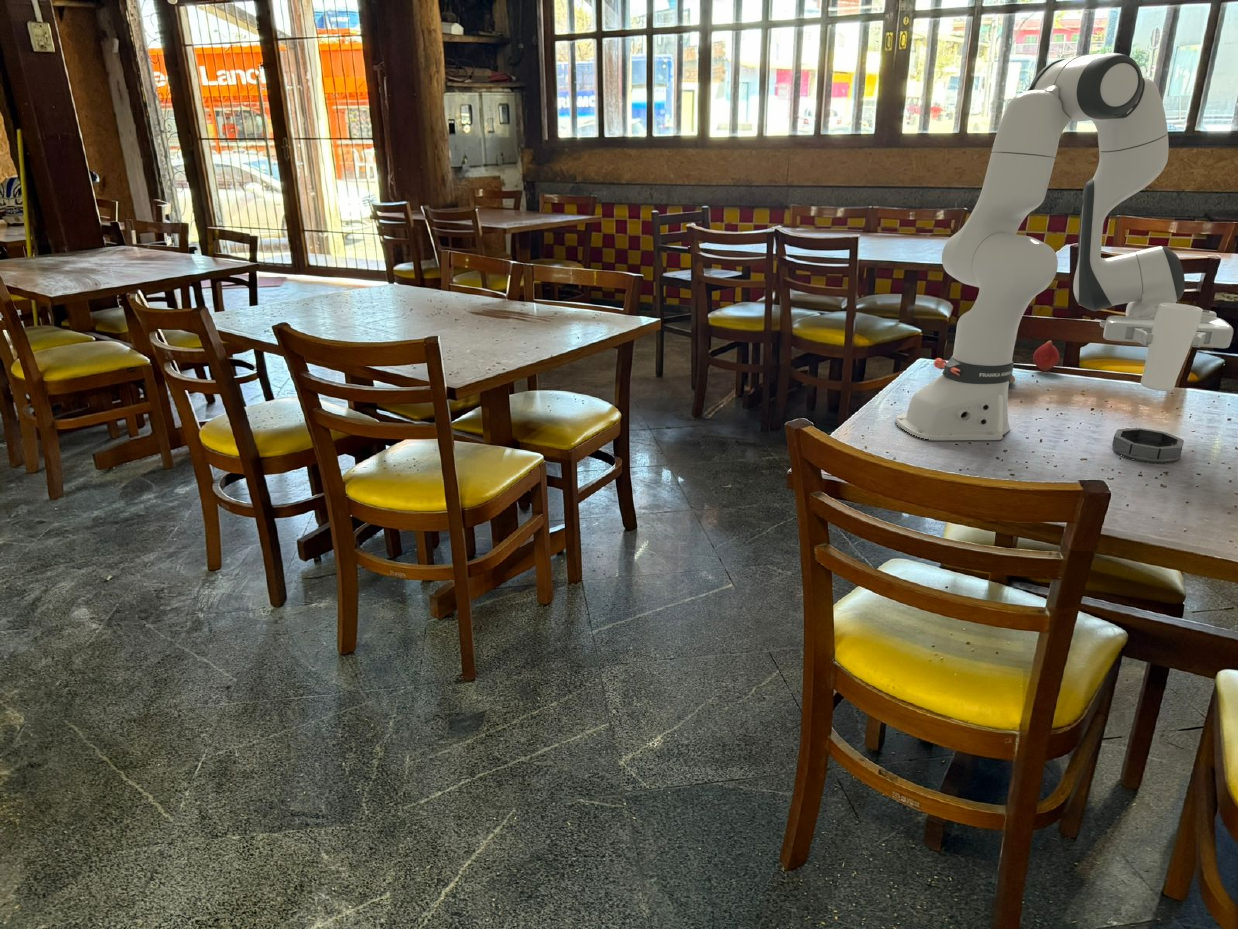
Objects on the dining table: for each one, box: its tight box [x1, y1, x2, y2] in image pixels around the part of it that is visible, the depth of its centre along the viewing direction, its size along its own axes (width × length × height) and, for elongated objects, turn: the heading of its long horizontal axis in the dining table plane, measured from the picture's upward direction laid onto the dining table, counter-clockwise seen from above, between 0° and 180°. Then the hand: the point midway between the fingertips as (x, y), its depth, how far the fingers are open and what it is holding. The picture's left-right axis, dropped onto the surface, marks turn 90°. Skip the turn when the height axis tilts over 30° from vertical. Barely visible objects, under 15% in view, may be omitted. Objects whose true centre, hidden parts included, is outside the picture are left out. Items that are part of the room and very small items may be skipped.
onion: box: [1032, 340, 1060, 372], centre depth 210 cm, size 6×6×8 cm
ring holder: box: [1111, 427, 1185, 465], centre depth 158 cm, size 11×11×3 cm
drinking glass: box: [1140, 302, 1204, 392], centre depth 151 cm, size 7×7×15 cm
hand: (1172, 341), depth 150 cm, fingers closed on drinking glass, 6 cm apart
